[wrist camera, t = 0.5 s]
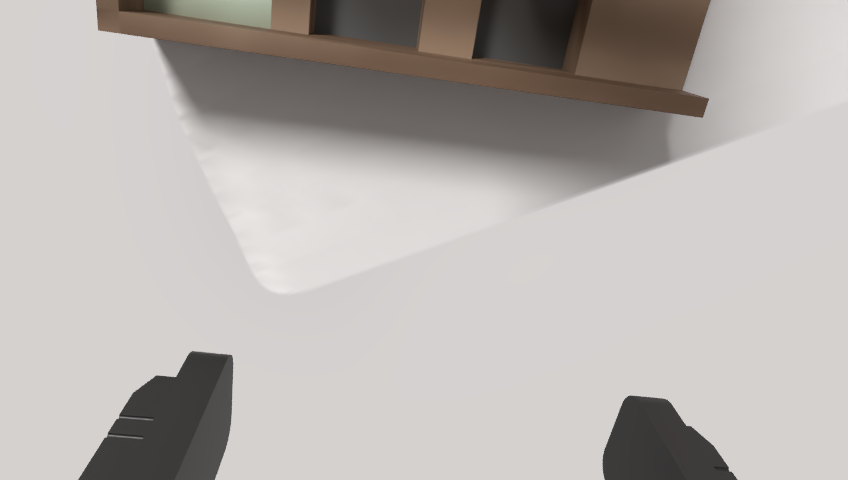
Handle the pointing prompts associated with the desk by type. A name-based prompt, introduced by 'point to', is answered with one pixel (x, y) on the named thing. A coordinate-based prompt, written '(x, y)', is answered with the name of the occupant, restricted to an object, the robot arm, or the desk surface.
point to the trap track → (456, 40)
